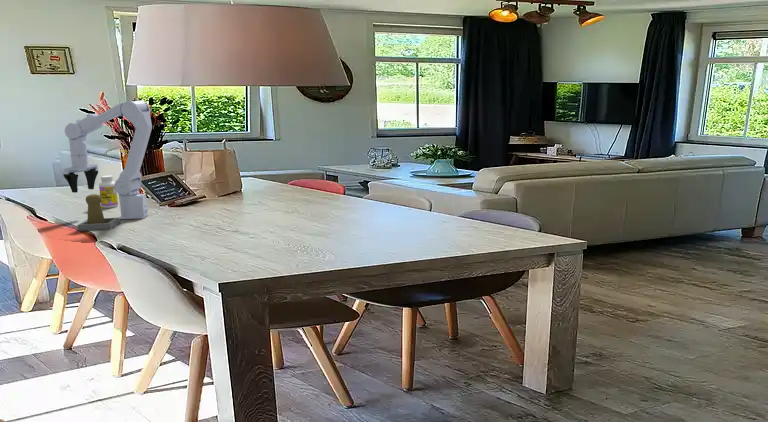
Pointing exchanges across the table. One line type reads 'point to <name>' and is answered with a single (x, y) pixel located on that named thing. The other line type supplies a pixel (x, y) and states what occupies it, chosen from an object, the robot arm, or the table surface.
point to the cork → (94, 209)
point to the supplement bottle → (108, 192)
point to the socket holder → (99, 224)
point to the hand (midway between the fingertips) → (83, 190)
